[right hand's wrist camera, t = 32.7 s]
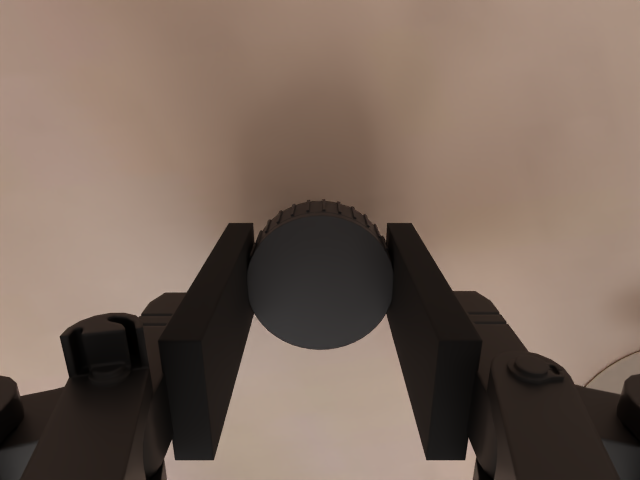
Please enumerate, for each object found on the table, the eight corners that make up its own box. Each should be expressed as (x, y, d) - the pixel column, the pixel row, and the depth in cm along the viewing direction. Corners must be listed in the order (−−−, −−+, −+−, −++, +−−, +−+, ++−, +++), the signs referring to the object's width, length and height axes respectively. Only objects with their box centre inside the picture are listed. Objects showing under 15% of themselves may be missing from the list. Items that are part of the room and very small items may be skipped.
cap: (284, 341, 15) (279, 369, 14) (228, 227, 14) (217, 245, 12) (406, 300, 15) (415, 325, 13) (362, 177, 13) (367, 189, 12)
